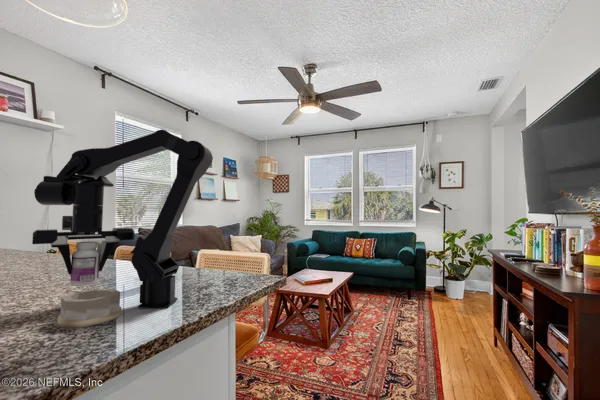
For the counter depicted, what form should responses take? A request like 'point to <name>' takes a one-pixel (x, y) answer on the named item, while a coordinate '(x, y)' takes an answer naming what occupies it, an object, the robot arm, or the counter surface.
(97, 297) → the socket base
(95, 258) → the pill bottle
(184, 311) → the counter surface
